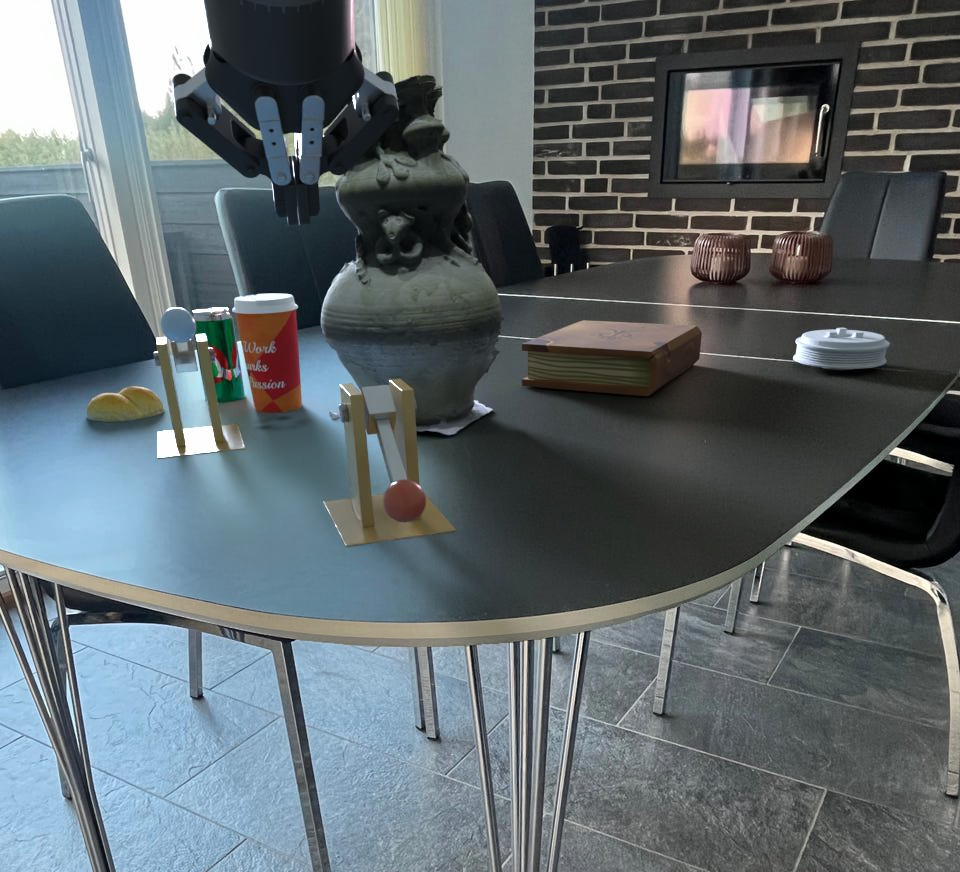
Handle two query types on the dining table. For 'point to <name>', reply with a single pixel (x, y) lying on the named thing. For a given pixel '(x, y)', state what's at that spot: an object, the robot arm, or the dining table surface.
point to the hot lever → (391, 456)
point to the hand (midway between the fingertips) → (298, 214)
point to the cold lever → (180, 338)
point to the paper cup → (270, 350)
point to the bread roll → (125, 405)
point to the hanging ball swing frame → (180, 438)
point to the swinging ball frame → (364, 511)
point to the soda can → (221, 352)
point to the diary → (612, 356)
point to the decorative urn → (414, 271)
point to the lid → (841, 349)
